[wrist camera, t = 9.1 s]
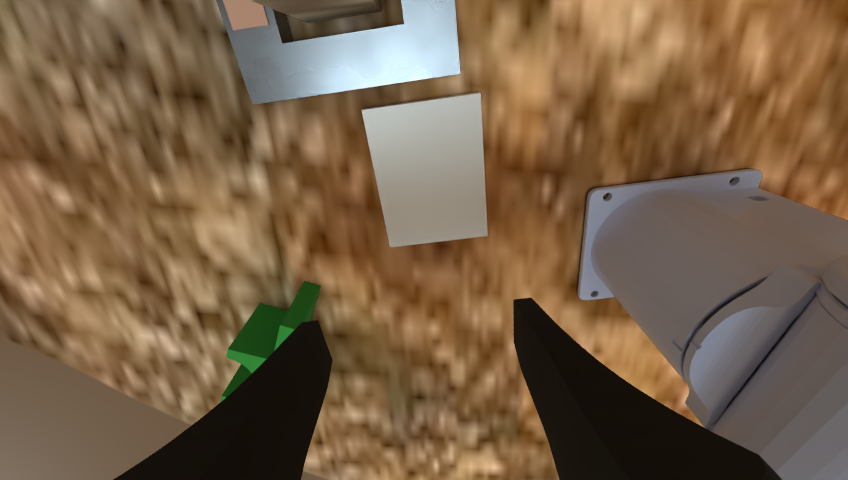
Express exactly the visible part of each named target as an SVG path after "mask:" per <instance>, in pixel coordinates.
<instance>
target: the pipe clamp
mask: <svg viewBox="0 0 848 480" xmlns="http://www.w3.org/2000/svg"><path fill="white" fill-rule="evenodd" d="M320 287H321V286H319V285H315V284H312V283H309V282H305V281H304V283H303V285H302V287H301V289H300V290H299V292H298V294H297V296H296V298H295V299H294V301H293V303H292V305H291V307H290V308H289V310H288V311H287V310H283V309H279V308H276V307H272V306H268V305H265V304H261V303H260V304H259V305H258V307H257V308H256V310H255V311H254V313H253V314H252V315H251V317H250V318H249V320H248V321H247V323H246V324H245V325H244V327H243V328H242V330H241V331H240V333H239V334H238V336H237V337H236V338H235V340H234V341H233V343H232V344H231V346H230V347H229V349H228V352H227V358H229V359H232V360H235V361H237V362H239V363H241V366H240V367H239V369H238V370H237V372H236V374H235V375H234V377H233V379H232V380H231V382H230V383H229V385H228V387H227V388H226V390H225V392H224V393H223V395H222V398H221V402H222V401H223V400H224V399H225V398H226V397H227V396H229V395H230V394H231V393H232V392H233V391H234V390H235V389H236V388H237V387H238V386H239V385H240V384H241V383H243V382H244V381H245V380H246V379H247V378H248V377H249V376H250V375H251V374H252V373H253V372H254V371H255V370H256V369H257V368H258V367H259V366H260V365H261V364H262V363H263V362H264V361H265V360H266V359H267V358H268V357H269V356H270V355H271V354H272V353H273V352H274V351H275V350H276V349H277V348H278V347H279V346H280V344H281V343H282V342H283V341H284V340H285V339H286V338H287V337H288V336H289V335H290V334H291V333H292V332H293V331H294V330H295V329H296V328H297V327H298V326H299V325H300V324H301V323H302V322H309V321H311V319H312V315H313V312H314V308H315V305H316V301H317V297H318V294H319V290H320Z"/></svg>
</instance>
